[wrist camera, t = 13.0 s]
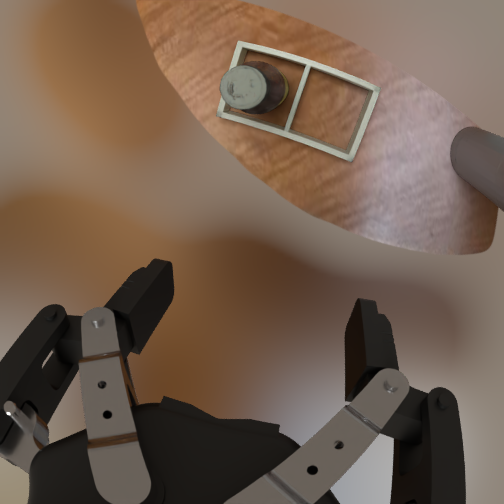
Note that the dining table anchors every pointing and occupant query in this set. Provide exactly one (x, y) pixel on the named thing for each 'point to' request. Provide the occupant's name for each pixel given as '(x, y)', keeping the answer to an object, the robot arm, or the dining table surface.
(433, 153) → the dining table surface
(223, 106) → the corral
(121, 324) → the robot arm
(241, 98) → the sauce bottle
